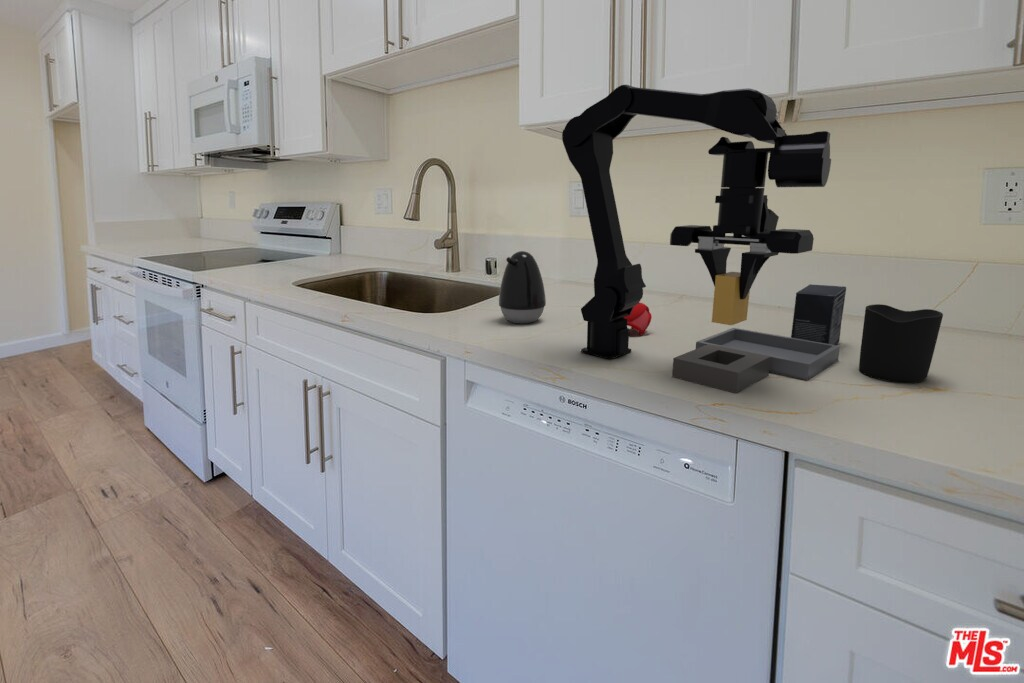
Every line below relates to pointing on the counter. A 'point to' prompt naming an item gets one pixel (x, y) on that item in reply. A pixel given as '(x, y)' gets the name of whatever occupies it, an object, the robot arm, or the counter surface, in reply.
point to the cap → (639, 318)
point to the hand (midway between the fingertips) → (731, 297)
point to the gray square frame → (721, 367)
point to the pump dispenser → (522, 289)
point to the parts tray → (779, 351)
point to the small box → (819, 313)
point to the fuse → (729, 300)
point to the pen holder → (898, 343)
